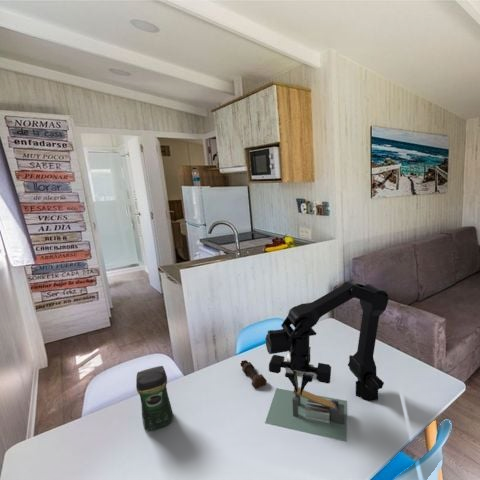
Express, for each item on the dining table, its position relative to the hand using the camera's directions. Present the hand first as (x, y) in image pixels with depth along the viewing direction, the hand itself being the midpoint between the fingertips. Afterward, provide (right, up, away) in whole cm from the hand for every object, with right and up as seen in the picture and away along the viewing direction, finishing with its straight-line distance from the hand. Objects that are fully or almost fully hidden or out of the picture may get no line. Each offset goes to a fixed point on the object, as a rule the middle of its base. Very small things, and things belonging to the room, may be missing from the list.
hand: (299, 391), depth 94 cm
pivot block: (+11, -7, -2) cm, 13 cm away
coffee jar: (-46, -11, +3) cm, 48 cm away
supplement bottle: (+2, -4, +21) cm, 22 cm away
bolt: (-14, -6, +20) cm, 26 cm away
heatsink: (+6, -7, -1) cm, 9 cm away
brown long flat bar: (+4, -2, -1) cm, 5 cm away
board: (+3, -8, +1) cm, 8 cm away
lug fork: (0, -7, +2) cm, 7 cm away
